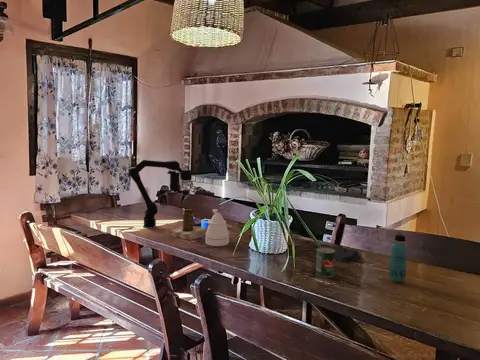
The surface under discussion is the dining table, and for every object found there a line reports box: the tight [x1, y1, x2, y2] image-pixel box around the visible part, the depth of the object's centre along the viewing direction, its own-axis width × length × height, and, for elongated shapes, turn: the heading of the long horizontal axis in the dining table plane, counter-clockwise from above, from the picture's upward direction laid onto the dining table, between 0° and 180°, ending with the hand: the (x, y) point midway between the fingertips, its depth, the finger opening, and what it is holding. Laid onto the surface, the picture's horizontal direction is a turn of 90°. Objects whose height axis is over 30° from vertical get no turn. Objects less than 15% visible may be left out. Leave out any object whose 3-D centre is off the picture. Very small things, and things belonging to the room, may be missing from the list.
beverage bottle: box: [388, 234, 409, 282], centre depth 173 cm, size 6×7×20 cm
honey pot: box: [205, 209, 230, 247], centre depth 227 cm, size 13×13×18 cm
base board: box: [169, 226, 208, 241], centre depth 243 cm, size 16×16×3 cm
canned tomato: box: [315, 247, 336, 278], centre depth 181 cm, size 8×8×11 cm
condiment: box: [181, 208, 195, 232], centre depth 241 cm, size 7×8×12 cm
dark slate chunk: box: [310, 244, 361, 264], centre depth 209 cm, size 15×22×5 cm
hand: (174, 205), depth 264 cm, fingers open, 9 cm apart
